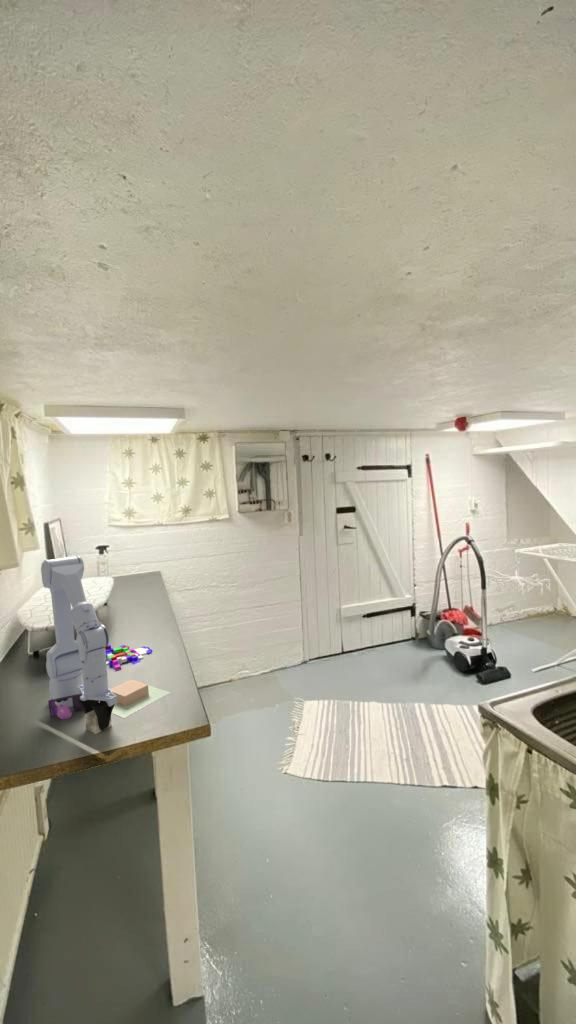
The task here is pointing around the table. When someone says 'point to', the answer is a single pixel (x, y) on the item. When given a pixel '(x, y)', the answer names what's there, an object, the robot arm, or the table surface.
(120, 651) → the building block set
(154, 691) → the base plate
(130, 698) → the base brick
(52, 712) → the purple and pink piece
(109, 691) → the robot arm
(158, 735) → the table surface
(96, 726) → the top brick
